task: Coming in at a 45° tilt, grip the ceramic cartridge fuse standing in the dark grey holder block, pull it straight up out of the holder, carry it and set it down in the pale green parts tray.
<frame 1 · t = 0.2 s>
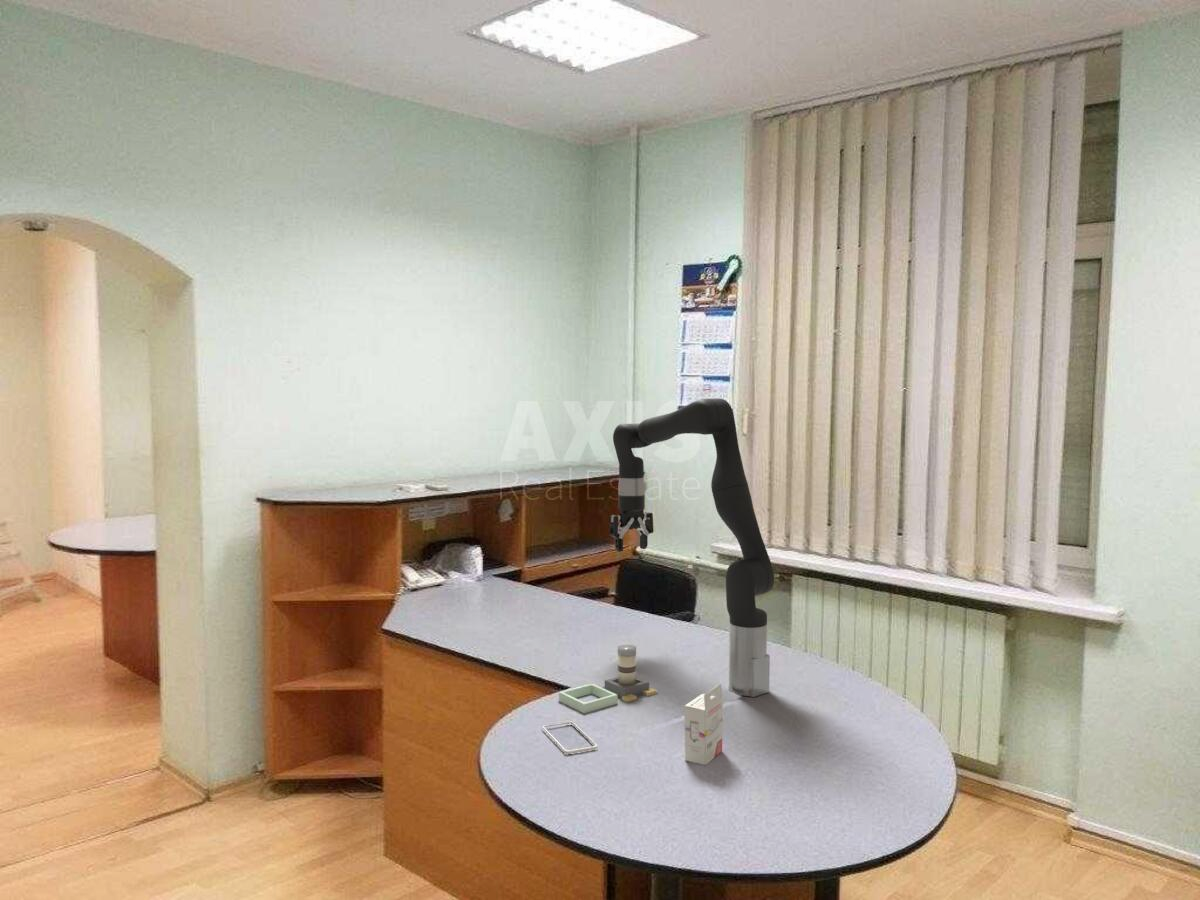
hand: (631, 550, 256), 29 cm above the table, tool pointing down, fingers open, 8 cm apart
ink cartridge box: (703, 756, 186), on the table
holder: (626, 695, 221), on the table
phone case: (569, 742, 194), on the table
tray: (588, 706, 213), on the table
fuse: (626, 691, 221), point 1 cm above the table, touching holder
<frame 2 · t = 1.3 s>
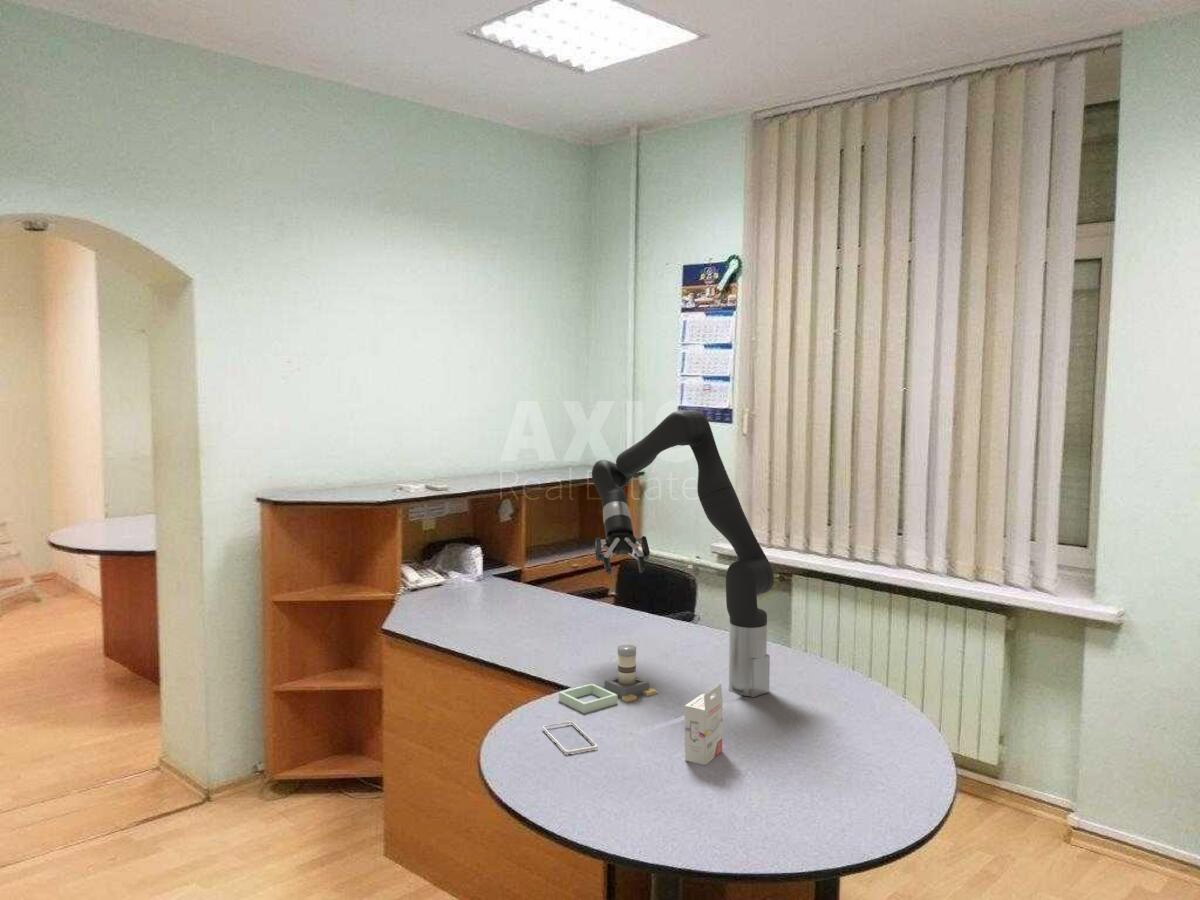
hand: (625, 571, 234), 27 cm above the table, tool tilted 45°, fingers open, 8 cm apart
nothing on the table moved.
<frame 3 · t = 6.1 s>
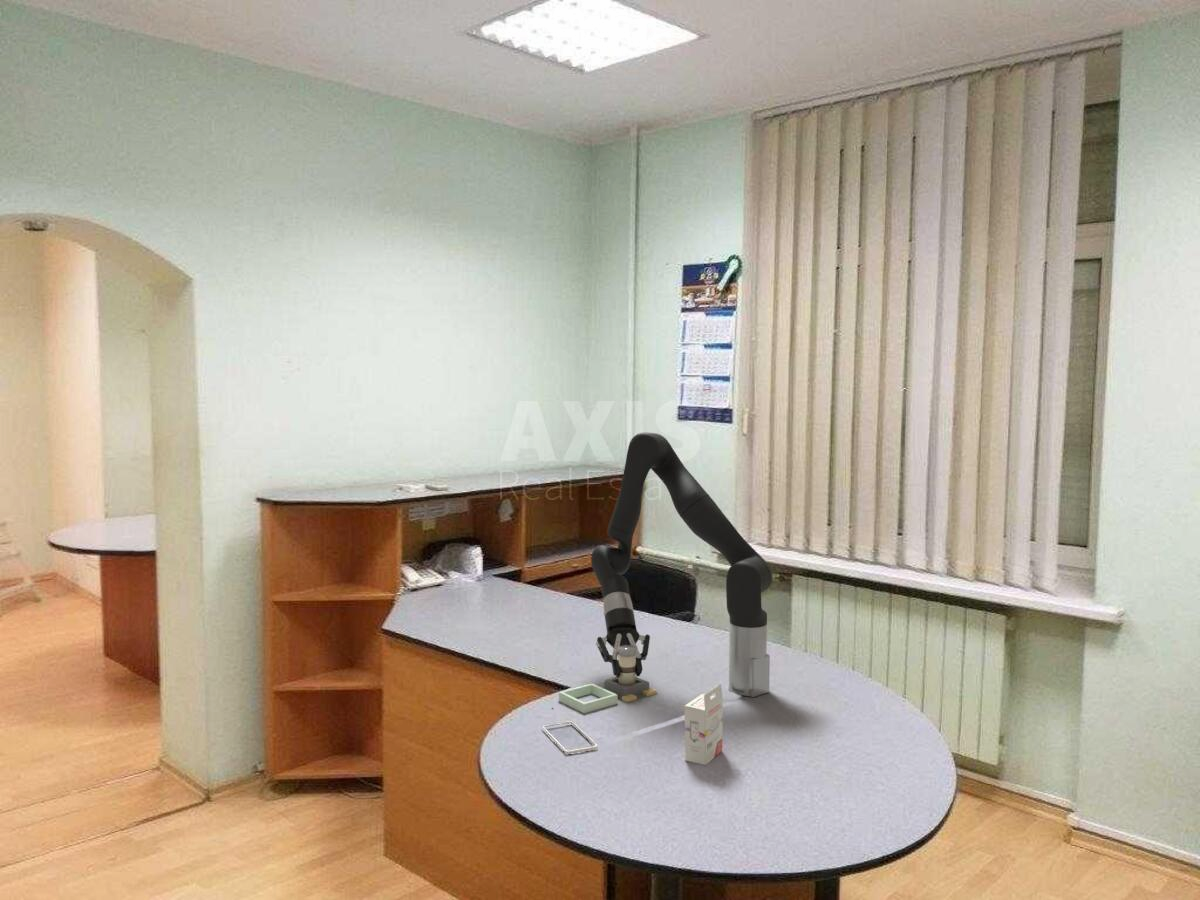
hand: (628, 675, 218), 6 cm above the table, tool tilted 45°, fingers closed on fuse, 4 cm apart
fuse: (626, 691, 221), point 1 cm above the table, touching gripper, holder
everything else where it was.
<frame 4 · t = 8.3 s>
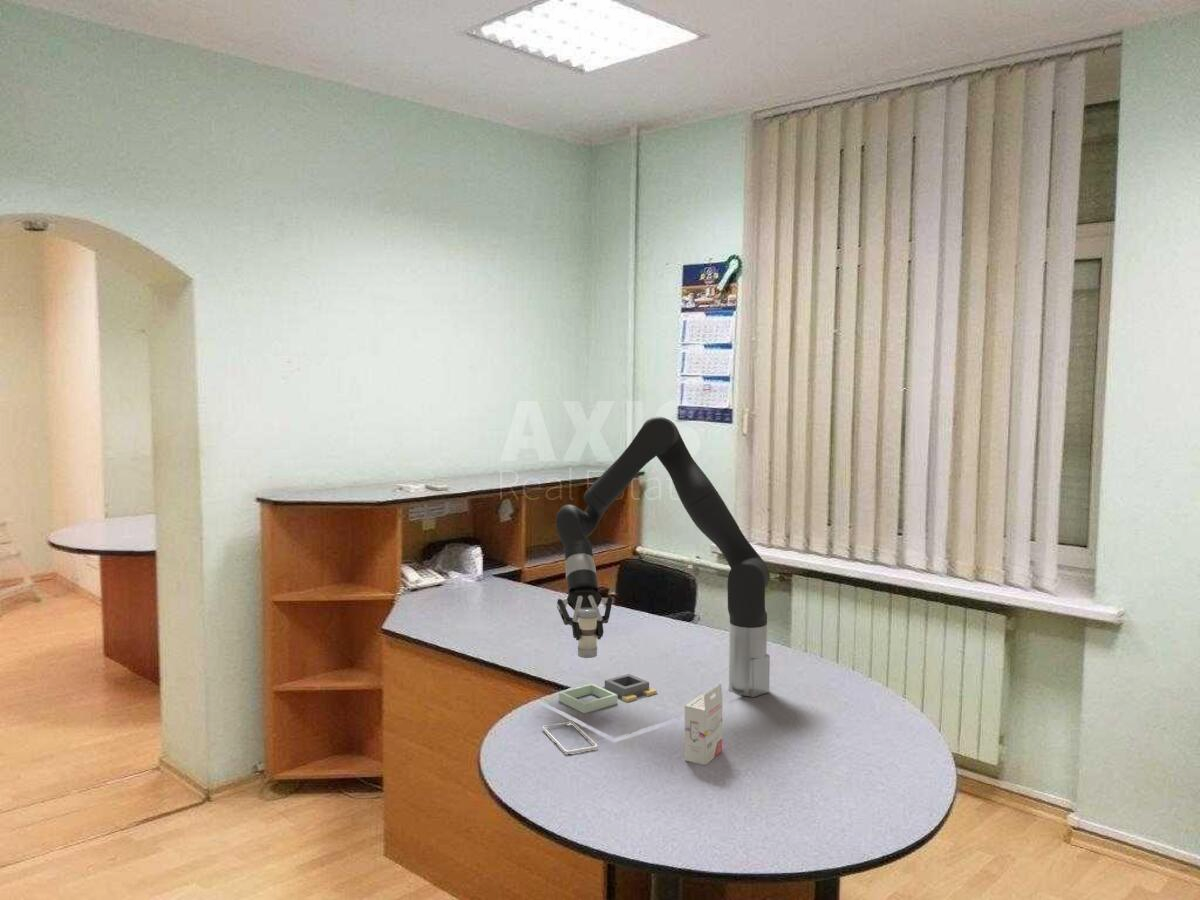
hand: (588, 638, 210), 17 cm above the table, tool tilted 45°, fingers closed on fuse, 4 cm apart
fuse: (587, 654, 213), point 12 cm above the table, touching gripper
everything else where it was.
when the fingers open (7 cm above the table, at t = 10.6 s): fuse drops 1 cm, resting on tray.
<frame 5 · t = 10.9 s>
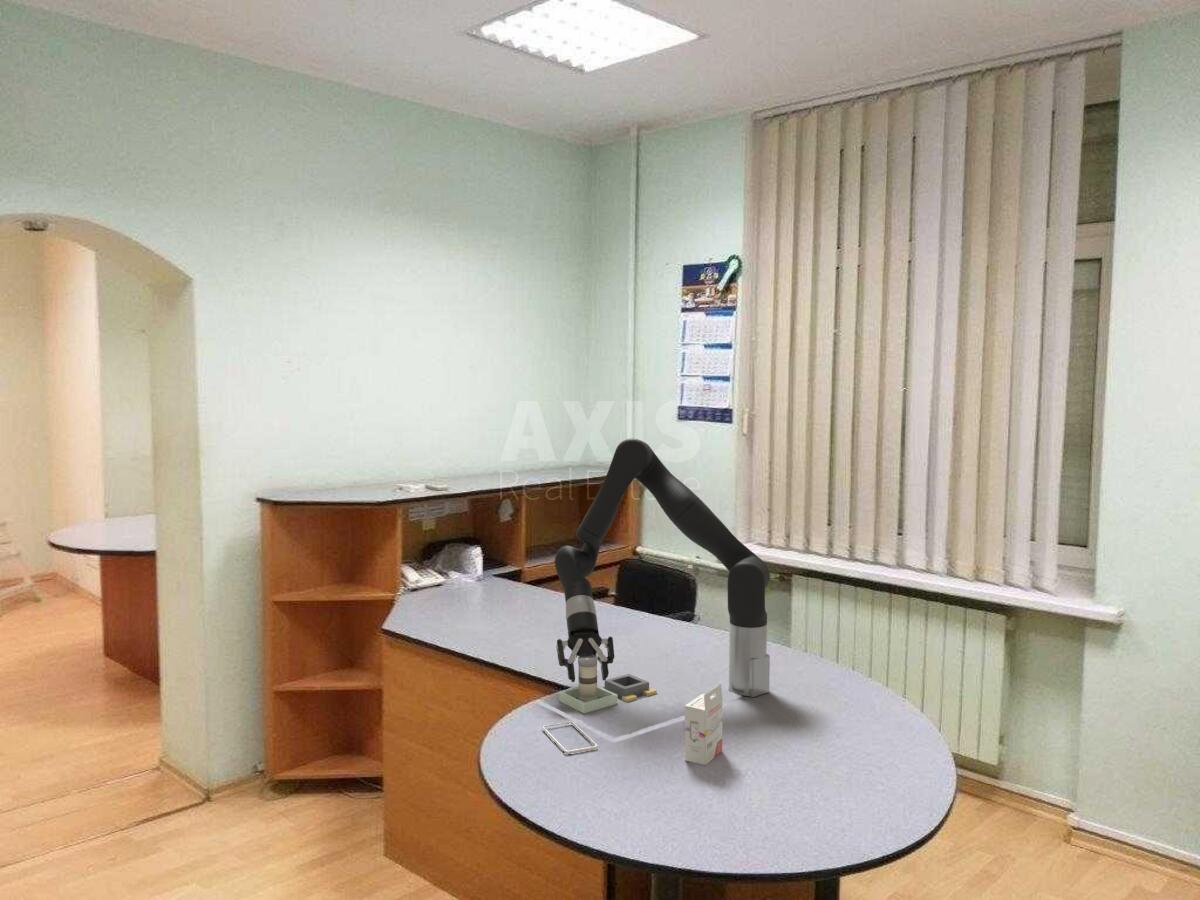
hand: (589, 679, 211), 7 cm above the table, tool tilted 45°, fingers open, 7 cm apart
fuse: (588, 703, 214), point 1 cm above the table, touching tray
everything else where it was.
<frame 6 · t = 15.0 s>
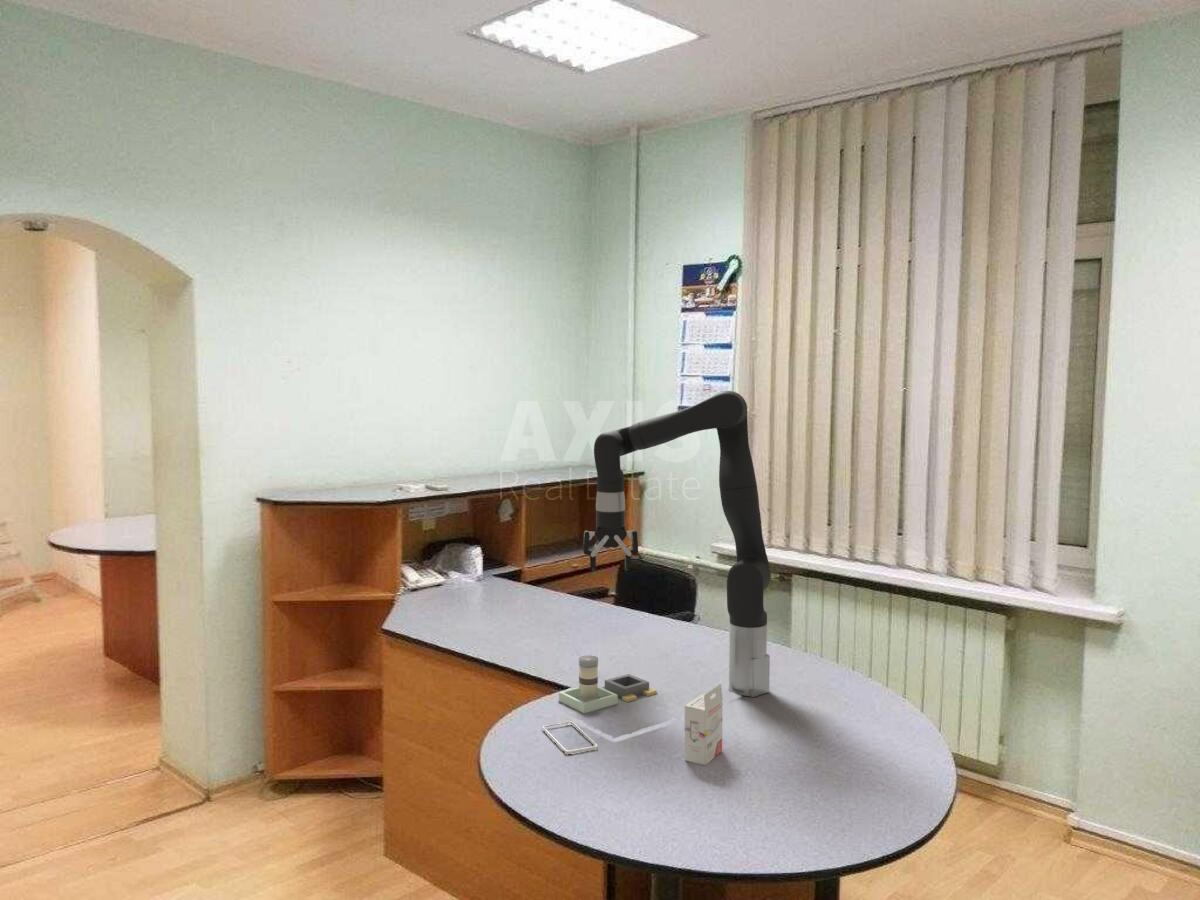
hand: (610, 570, 233), 28 cm above the table, tool pointing down, fingers open, 8 cm apart
nothing on the table moved.
at the end: fuse inside the target area on the tray (0.1 cm from its centre), point 0.6 cm above the tray's base; the gripper is holding nothing; fuse touching tray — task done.
